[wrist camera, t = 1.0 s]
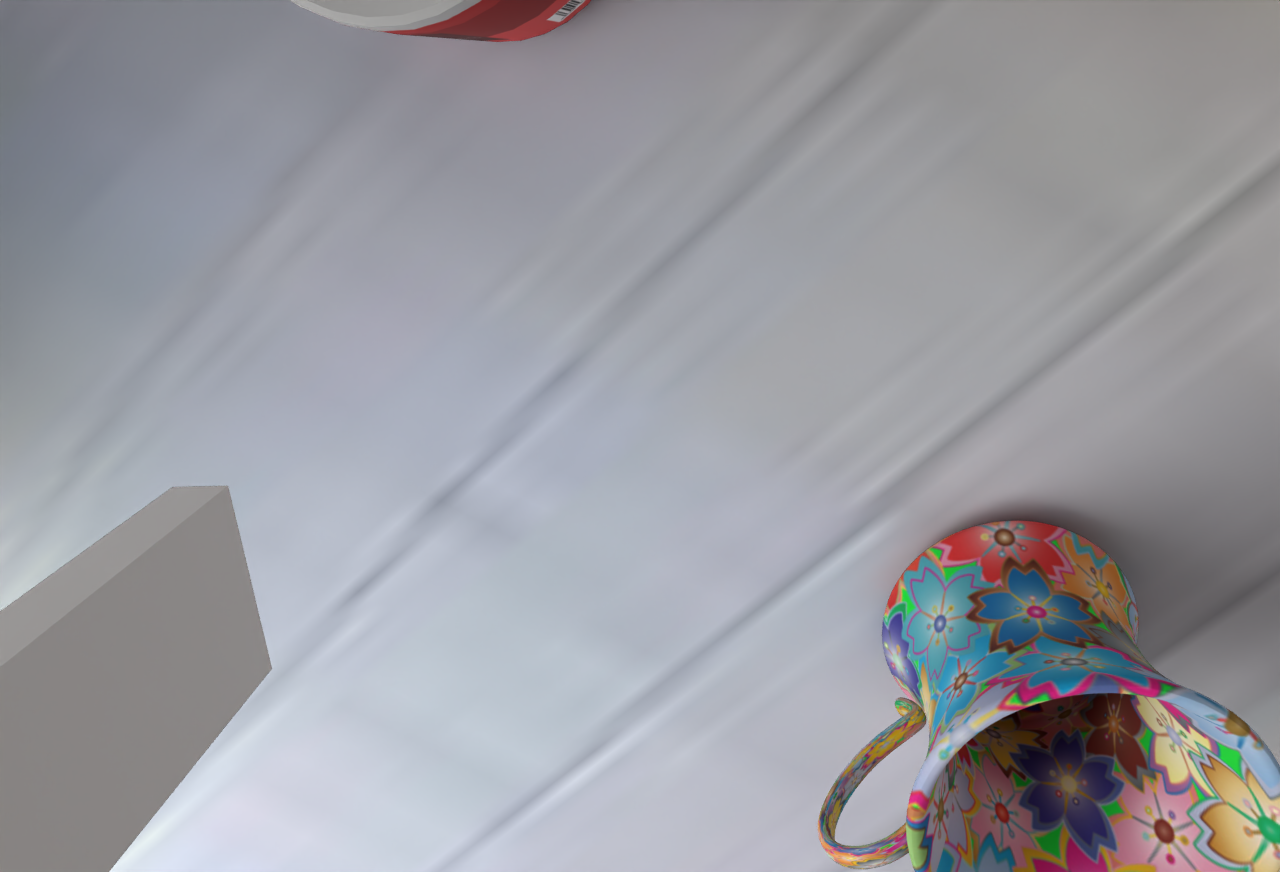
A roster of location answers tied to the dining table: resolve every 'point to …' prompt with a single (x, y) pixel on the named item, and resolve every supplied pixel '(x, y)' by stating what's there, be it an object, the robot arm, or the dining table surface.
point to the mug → (1053, 725)
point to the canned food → (451, 16)
